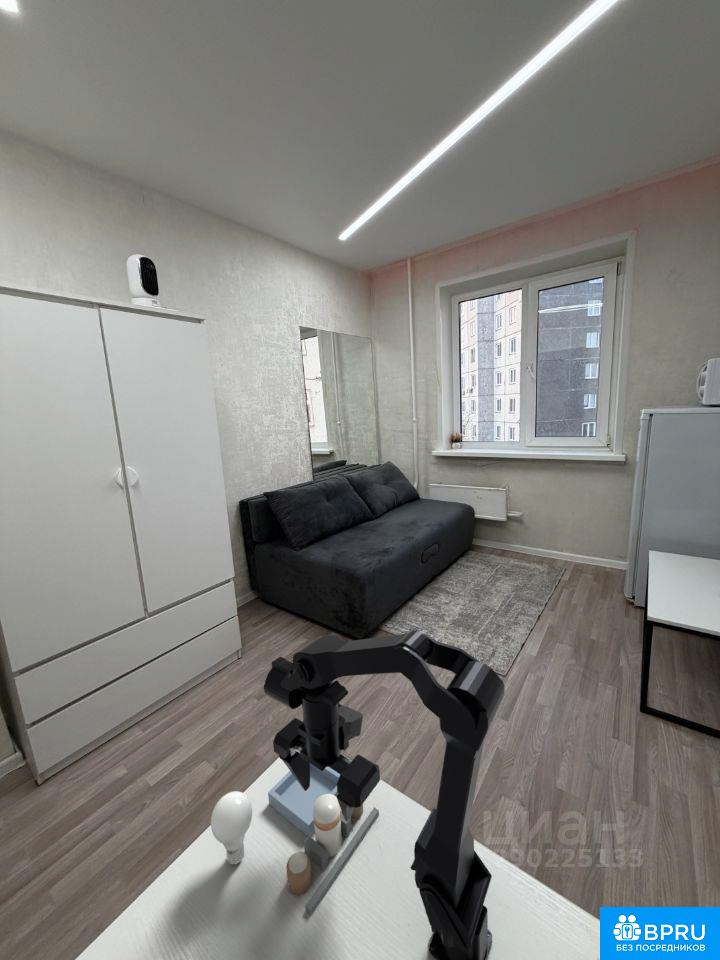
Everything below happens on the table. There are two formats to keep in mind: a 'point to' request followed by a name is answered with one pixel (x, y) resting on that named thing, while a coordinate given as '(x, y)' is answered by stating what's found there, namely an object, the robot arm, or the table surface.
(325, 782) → the tray
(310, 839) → the grey bar and blocks
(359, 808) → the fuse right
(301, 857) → the cylinder
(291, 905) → the table surface
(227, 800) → the lightbulb
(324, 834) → the cylinder
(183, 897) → the table surface
